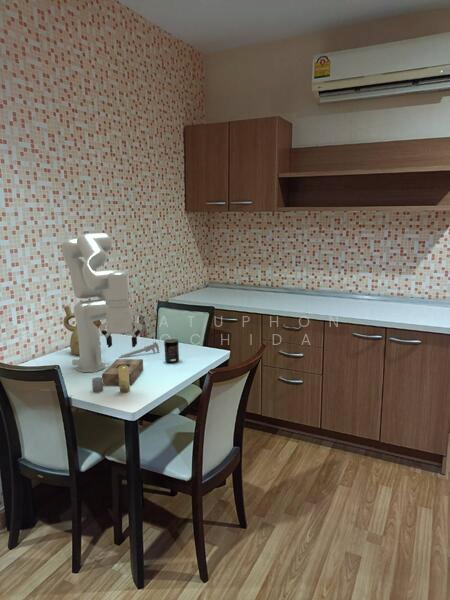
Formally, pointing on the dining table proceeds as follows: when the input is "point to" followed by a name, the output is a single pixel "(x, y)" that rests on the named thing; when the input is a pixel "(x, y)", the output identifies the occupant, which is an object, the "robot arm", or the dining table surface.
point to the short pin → (97, 385)
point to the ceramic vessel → (74, 330)
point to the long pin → (123, 379)
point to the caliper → (142, 350)
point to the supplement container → (171, 351)
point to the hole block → (113, 377)
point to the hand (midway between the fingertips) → (122, 346)
